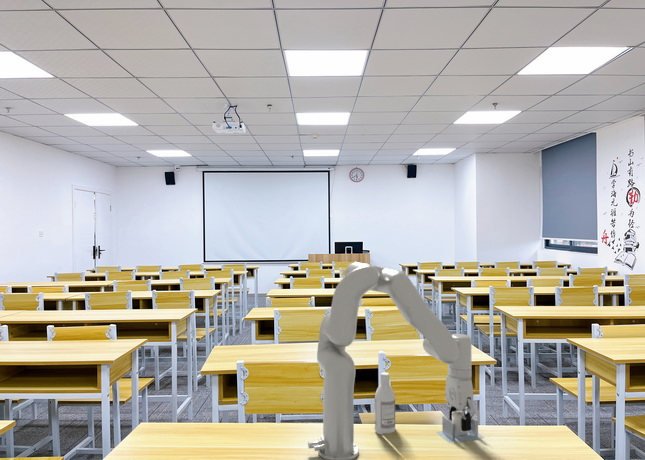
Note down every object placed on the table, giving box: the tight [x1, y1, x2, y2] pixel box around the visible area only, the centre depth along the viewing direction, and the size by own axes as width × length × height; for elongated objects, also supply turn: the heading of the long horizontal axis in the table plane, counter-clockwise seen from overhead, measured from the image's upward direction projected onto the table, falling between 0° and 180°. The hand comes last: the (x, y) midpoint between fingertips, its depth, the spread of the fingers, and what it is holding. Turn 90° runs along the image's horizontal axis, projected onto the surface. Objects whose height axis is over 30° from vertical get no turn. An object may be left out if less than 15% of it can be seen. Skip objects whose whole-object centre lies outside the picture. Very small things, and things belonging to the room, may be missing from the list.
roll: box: [452, 410, 468, 437], centre depth 147 cm, size 5×5×7 cm
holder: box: [436, 430, 485, 444], centre depth 147 cm, size 13×8×2 cm, turn 107°
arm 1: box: [441, 415, 455, 441], centre depth 146 cm, size 2×6×6 cm, turn 17°
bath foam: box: [374, 372, 396, 436], centre depth 152 cm, size 7×7×20 cm
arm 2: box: [468, 416, 479, 437], centre depth 148 cm, size 2×6×6 cm, turn 17°
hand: (459, 425), depth 147 cm, fingers open, 6 cm apart
